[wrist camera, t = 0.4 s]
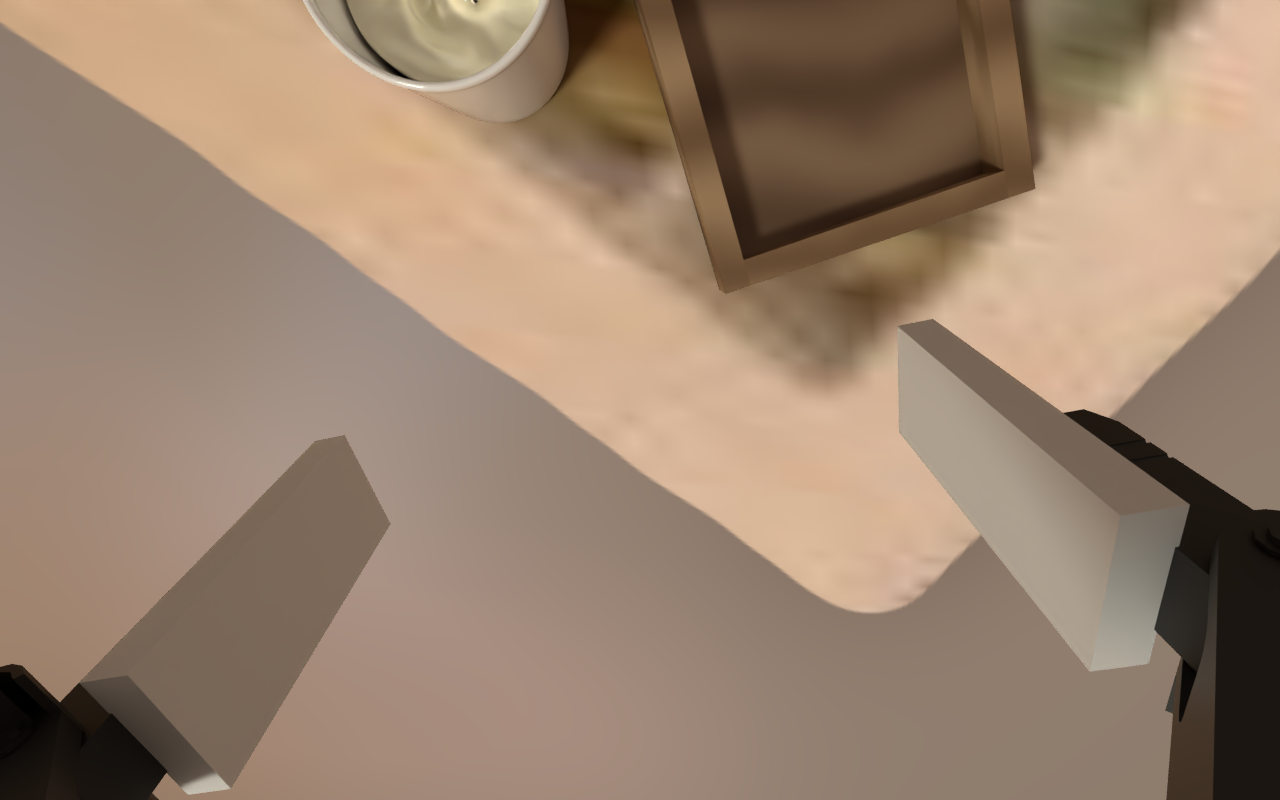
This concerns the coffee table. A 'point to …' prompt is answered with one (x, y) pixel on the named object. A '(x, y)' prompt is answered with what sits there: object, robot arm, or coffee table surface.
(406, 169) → the coffee table surface
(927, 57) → the walnut tray
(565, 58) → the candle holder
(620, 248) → the coffee table surface
